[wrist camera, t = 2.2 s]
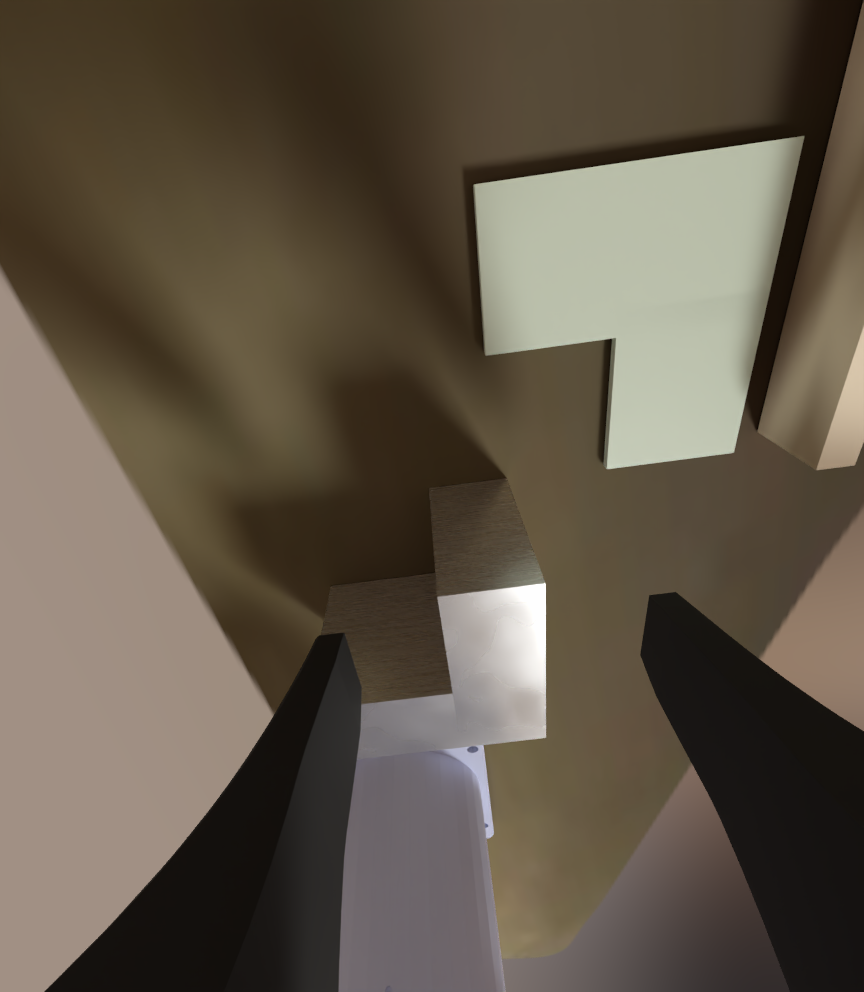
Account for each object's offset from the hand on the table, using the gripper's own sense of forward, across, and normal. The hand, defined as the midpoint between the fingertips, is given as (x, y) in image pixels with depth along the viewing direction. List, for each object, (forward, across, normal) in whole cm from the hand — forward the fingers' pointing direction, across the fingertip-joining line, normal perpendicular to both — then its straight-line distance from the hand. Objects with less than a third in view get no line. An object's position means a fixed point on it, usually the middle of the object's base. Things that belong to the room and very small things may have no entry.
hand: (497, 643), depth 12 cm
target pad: (+5, -5, -5) cm, 9 cm away
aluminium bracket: (+5, +2, +2) cm, 6 cm away
